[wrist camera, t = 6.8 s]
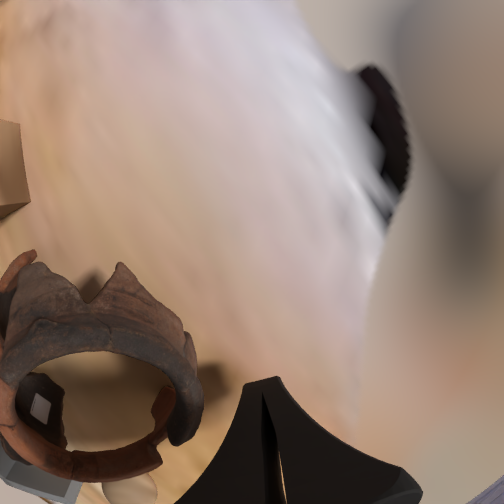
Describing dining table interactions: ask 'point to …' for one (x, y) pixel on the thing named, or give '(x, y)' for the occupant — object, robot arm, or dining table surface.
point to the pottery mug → (81, 340)
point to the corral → (37, 480)
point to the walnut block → (12, 169)
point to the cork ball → (131, 490)
